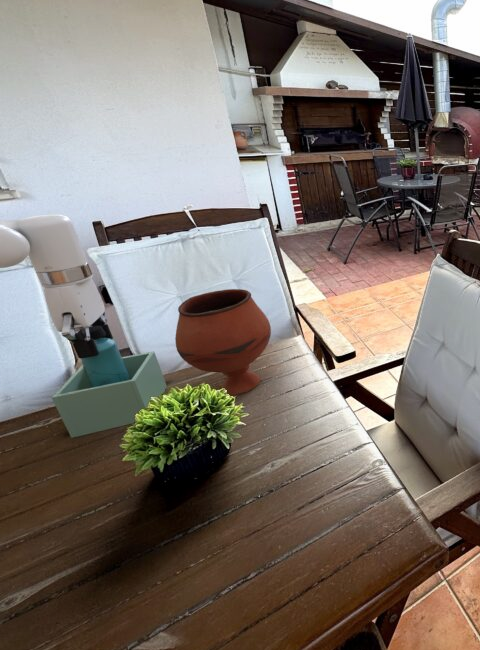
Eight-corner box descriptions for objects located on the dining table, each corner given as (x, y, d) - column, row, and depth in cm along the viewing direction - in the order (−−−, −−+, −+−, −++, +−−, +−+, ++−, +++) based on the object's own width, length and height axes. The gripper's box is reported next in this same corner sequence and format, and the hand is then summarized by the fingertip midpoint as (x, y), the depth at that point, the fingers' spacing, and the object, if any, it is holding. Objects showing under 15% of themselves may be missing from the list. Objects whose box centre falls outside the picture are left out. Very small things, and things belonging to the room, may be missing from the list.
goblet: (183, 390, 103) (153, 302, 94) (263, 357, 117) (243, 278, 108) (211, 421, 92) (179, 326, 83) (294, 381, 106) (275, 296, 98)
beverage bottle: (134, 390, 99) (105, 319, 92) (142, 400, 96) (113, 327, 89) (98, 404, 94) (65, 330, 87) (105, 415, 91) (71, 339, 84)
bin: (71, 438, 87) (51, 397, 83) (98, 401, 99) (82, 364, 95) (150, 419, 93) (134, 380, 89) (167, 386, 104) (154, 351, 100)
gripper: (63, 264, 89) (92, 334, 95) (15, 292, 75) (53, 373, 81) (107, 260, 92) (132, 328, 99) (69, 285, 78) (102, 364, 84)
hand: (96, 347), depth 90 cm, fingers closed on beverage bottle, 6 cm apart
